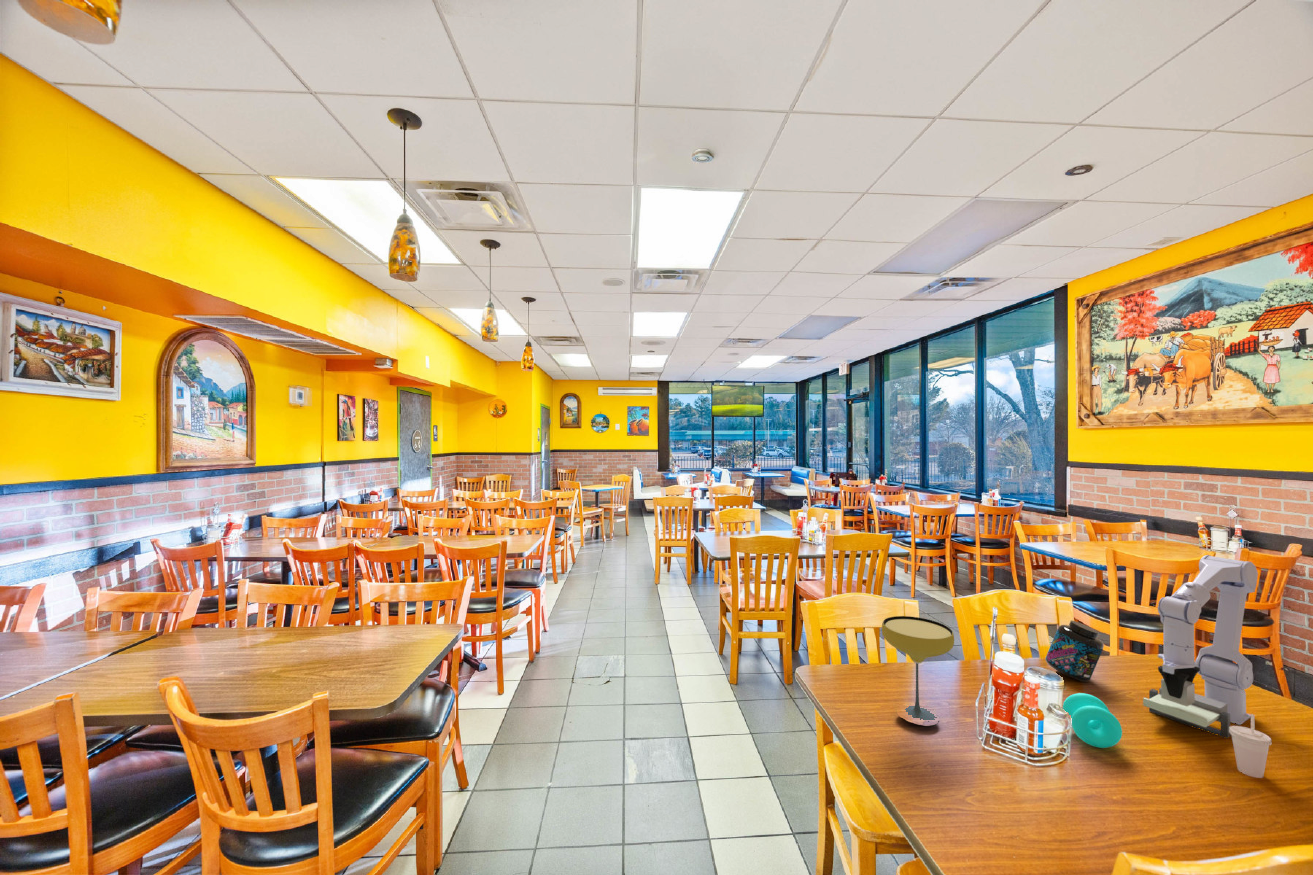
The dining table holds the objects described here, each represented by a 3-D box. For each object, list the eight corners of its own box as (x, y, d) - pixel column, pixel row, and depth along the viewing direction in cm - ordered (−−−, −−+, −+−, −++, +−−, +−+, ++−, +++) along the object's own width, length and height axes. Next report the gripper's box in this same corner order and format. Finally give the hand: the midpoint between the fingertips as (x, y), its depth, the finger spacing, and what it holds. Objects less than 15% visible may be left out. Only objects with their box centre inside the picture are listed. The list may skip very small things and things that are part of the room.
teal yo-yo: (1108, 733, 133) (1108, 695, 133) (1124, 754, 124) (1124, 714, 124) (1061, 724, 137) (1061, 687, 137) (1073, 744, 128) (1073, 705, 128)
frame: (1152, 709, 145) (1152, 688, 145) (1230, 736, 131) (1230, 713, 131) (1149, 711, 143) (1149, 690, 144) (1227, 739, 130) (1227, 716, 130)
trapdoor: (1166, 697, 145) (1166, 684, 145) (1227, 717, 135) (1227, 703, 135) (1143, 710, 138) (1143, 697, 138) (1205, 732, 127) (1205, 718, 127)
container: (1084, 674, 168) (1104, 629, 165) (1091, 689, 157) (1113, 642, 155) (1041, 655, 174) (1060, 612, 171) (1046, 668, 163) (1065, 623, 161)
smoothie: (1281, 786, 112) (1280, 723, 112) (1246, 782, 114) (1245, 720, 114) (1253, 767, 119) (1253, 708, 119) (1221, 764, 120) (1220, 705, 120)
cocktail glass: (883, 725, 136) (883, 633, 136) (880, 694, 153) (880, 612, 153) (960, 740, 129) (959, 643, 130) (948, 706, 146) (948, 620, 146)
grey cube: (1168, 693, 138) (1168, 675, 138) (1194, 701, 134) (1194, 682, 134) (1161, 697, 136) (1161, 679, 136) (1187, 706, 131) (1187, 687, 131)
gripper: (1169, 633, 142) (1169, 681, 141) (1147, 643, 135) (1147, 693, 135) (1205, 642, 135) (1205, 692, 135) (1183, 652, 129) (1184, 706, 129)
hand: (1179, 694), depth 135 cm, fingers closed on grey cube, 5 cm apart
